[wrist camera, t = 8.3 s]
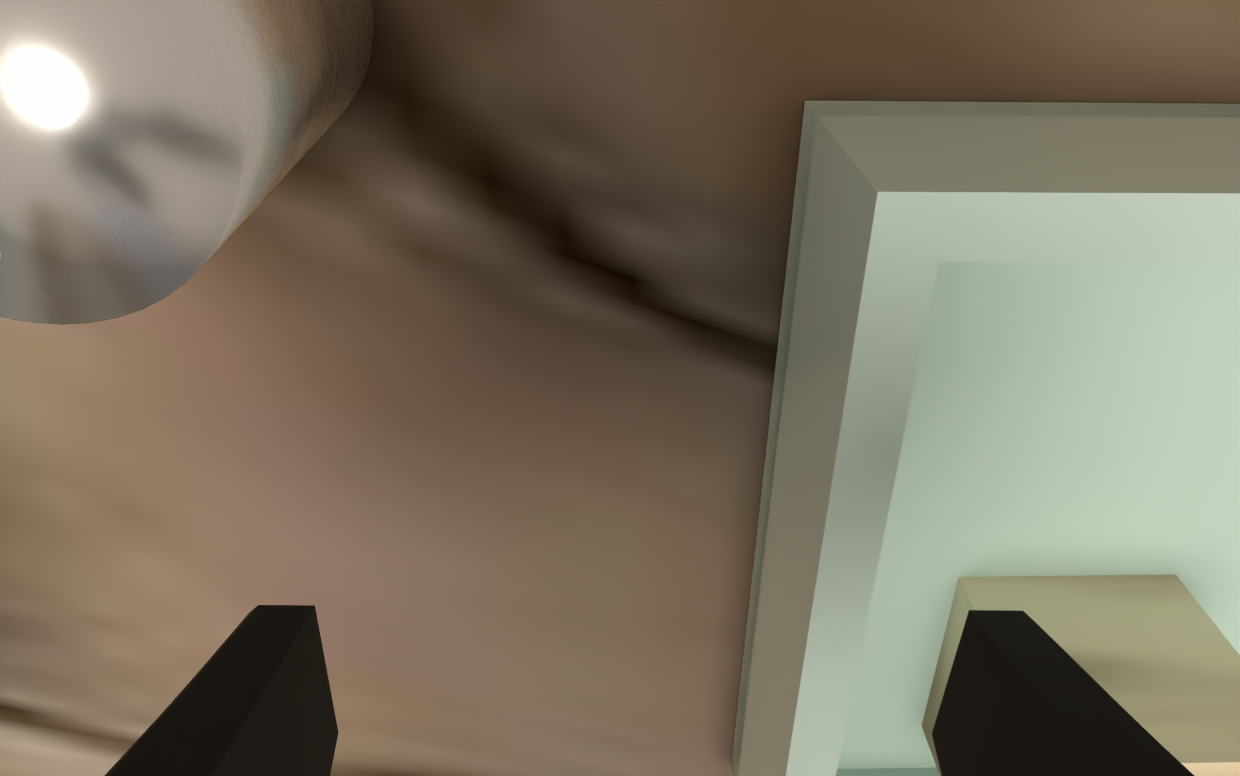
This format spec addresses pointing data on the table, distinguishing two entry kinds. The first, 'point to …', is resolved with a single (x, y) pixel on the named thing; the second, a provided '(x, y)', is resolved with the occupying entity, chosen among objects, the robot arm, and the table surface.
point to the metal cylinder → (153, 136)
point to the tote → (985, 396)
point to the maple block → (1124, 655)
